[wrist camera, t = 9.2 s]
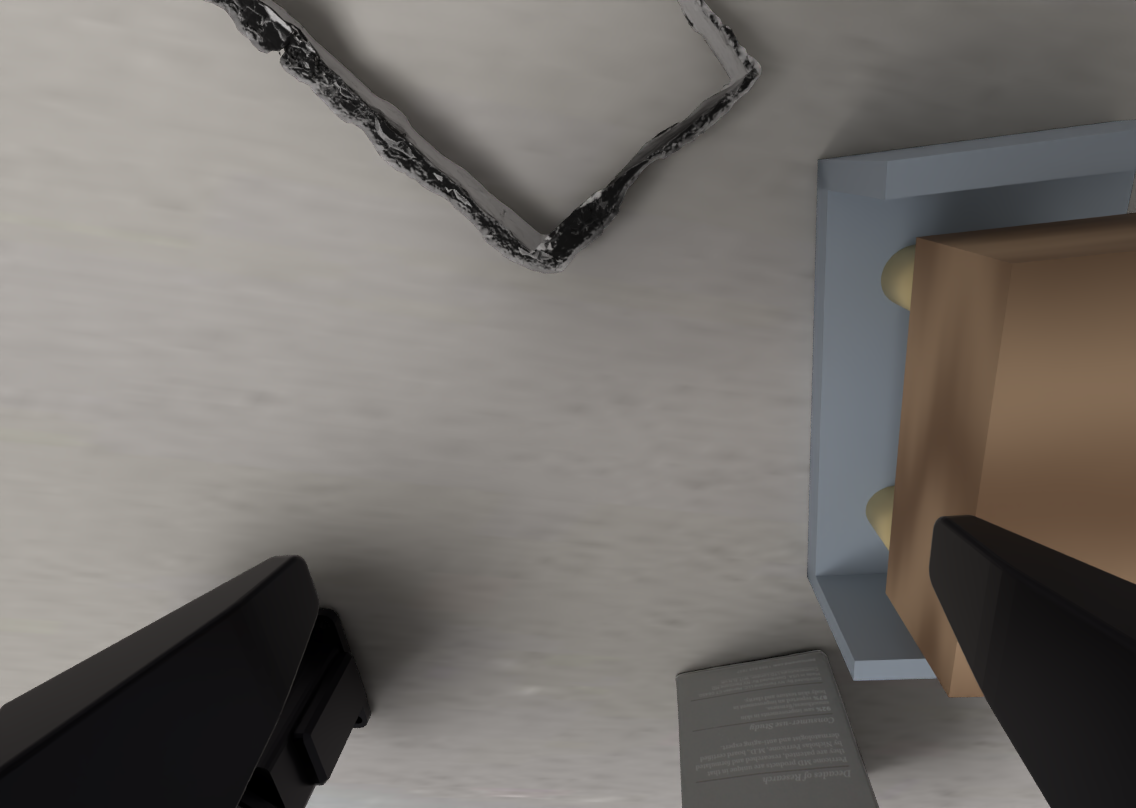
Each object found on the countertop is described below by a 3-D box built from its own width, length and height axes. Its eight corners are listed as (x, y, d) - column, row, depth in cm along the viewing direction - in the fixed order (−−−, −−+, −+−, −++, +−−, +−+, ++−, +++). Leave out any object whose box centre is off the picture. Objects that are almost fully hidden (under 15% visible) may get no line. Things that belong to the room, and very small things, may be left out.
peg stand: (1031, 565, 22) (1139, 672, 18) (807, 576, 23) (853, 681, 19) (1117, 120, 17) (1305, 107, 12) (818, 159, 18) (887, 161, 13)
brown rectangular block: (1057, 585, 18) (1165, 692, 15) (885, 592, 19) (948, 697, 15) (1137, 212, 14) (1314, 231, 11) (916, 237, 15) (1012, 263, 11)
